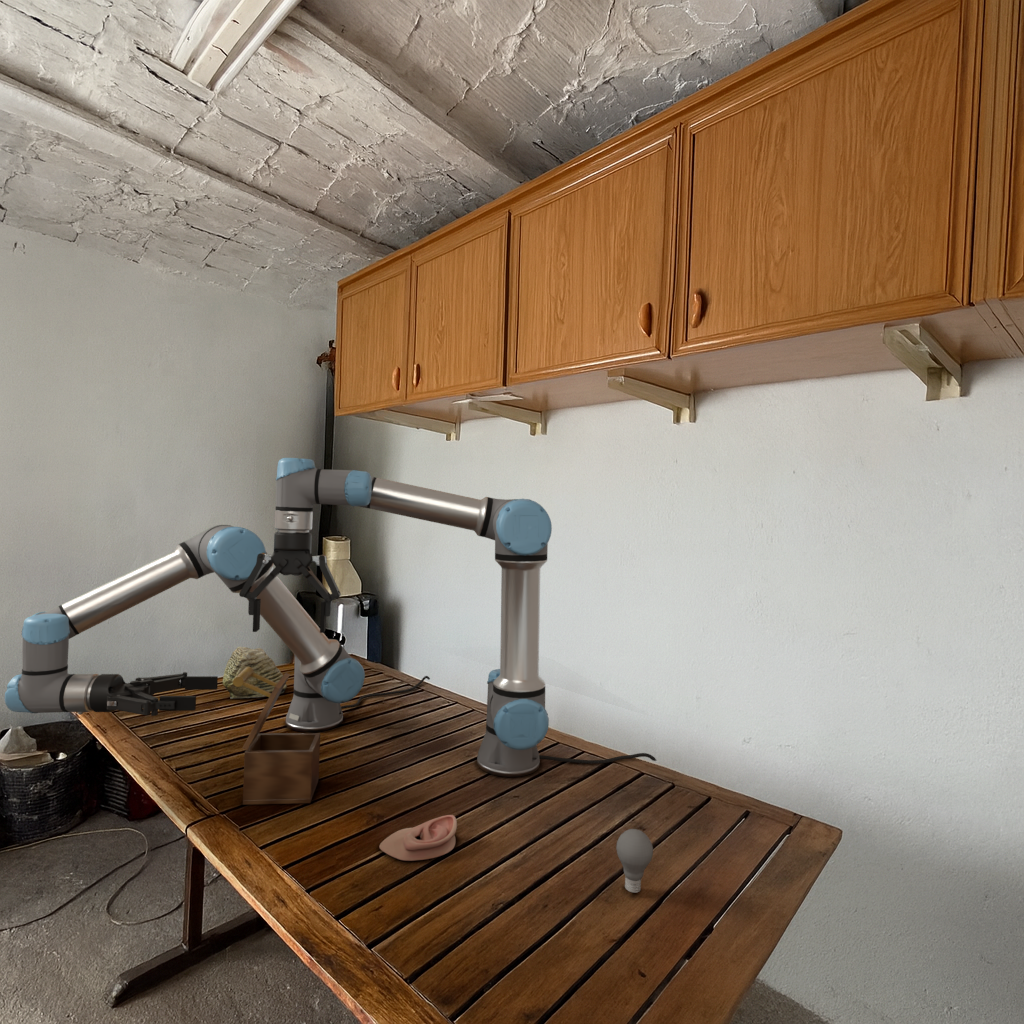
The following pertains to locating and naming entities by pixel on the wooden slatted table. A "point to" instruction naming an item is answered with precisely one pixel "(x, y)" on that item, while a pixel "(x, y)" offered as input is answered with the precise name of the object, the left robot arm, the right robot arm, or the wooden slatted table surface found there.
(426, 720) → the wooden slatted table surface
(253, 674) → the lid
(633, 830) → the light bulb
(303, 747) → the chest
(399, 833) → the anatomical model
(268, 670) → the fossil
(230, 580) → the left robot arm
